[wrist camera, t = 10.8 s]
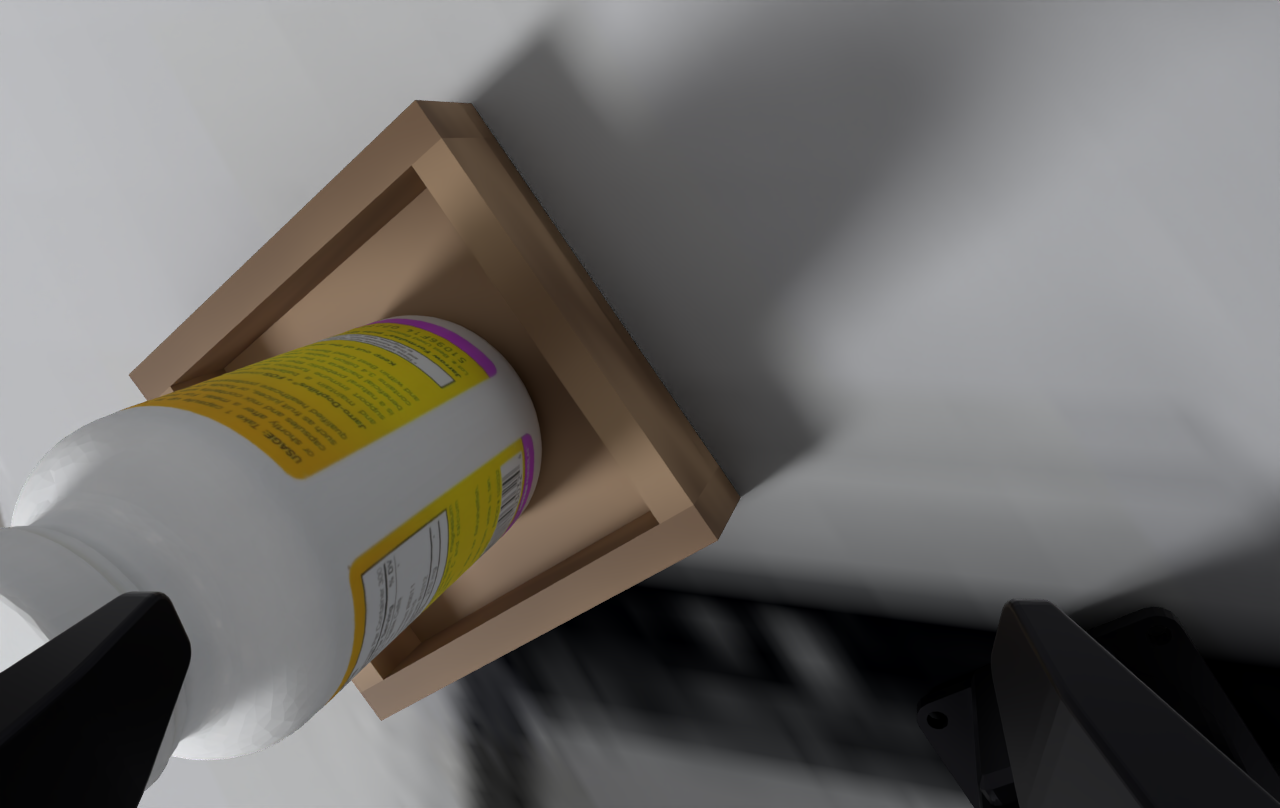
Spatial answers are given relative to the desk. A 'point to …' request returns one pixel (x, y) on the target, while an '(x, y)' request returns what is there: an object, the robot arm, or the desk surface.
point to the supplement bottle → (278, 518)
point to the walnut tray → (524, 335)
